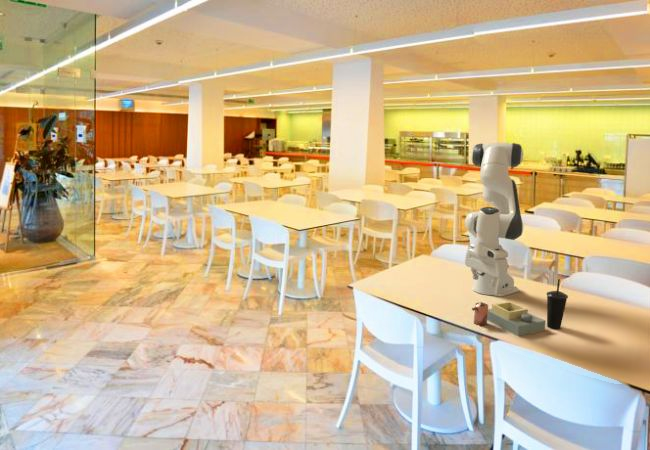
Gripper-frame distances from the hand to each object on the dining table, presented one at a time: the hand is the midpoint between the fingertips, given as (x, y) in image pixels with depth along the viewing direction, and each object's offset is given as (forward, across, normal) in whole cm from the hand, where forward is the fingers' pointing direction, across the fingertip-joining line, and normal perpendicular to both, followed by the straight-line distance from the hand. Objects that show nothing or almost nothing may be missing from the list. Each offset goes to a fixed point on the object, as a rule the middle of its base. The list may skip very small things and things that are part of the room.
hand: (483, 282), depth 190 cm
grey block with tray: (+17, +6, +12) cm, 22 cm away
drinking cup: (+18, +14, +25) cm, 34 cm away
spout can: (+17, 0, 0) cm, 17 cm away
